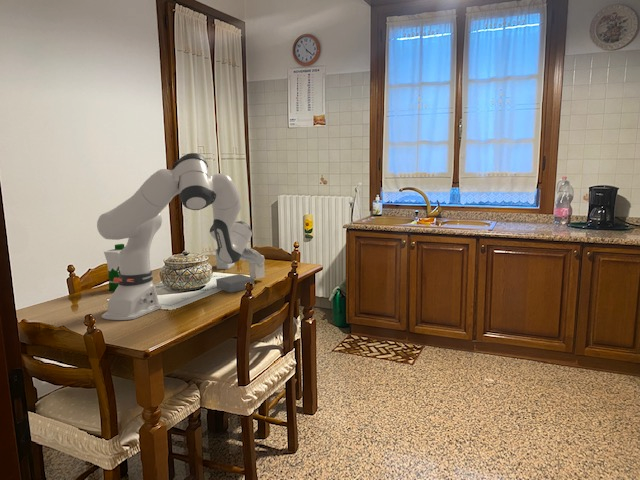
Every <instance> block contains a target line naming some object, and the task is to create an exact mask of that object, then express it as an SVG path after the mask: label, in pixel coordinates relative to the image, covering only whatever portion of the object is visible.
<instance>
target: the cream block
mask: <svg viewBox="0 0 640 480" xmlns="http://www.w3.org/2000/svg"><path fill="white" fill-rule="evenodd" d="M261 255H262V254H261ZM262 256H263V257H264V258H265V255H262ZM248 264H249V265H248V266H249V268H248V269H249V277H251V278H254V280H257V279H261V278H266V273H265V272H266V270H265V261H264V262H263V263H262V264H263V267H262V268H261V267H259V266H258V265H257V264H254V263H250V262H249V263H248Z"/></svg>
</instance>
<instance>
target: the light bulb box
mask: <svg viewBox="0 0 640 480" xmlns="http://www.w3.org/2000/svg"><path fill="white" fill-rule="evenodd" d="M215 261H216V262H215V263H216V270H228V269H231V267H234V266H235V264H236V262H235V263H231V264H229V263H225V262H224V261H222V260H221V259H220V258H219V256H218V254H217V248H215Z"/></svg>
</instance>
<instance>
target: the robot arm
mask: <svg viewBox="0 0 640 480" xmlns="http://www.w3.org/2000/svg"><path fill="white" fill-rule="evenodd" d="M209 171H210V170H209V165H208V163H207V160H206V158H205V157H204V156H203V155H202V154H199V153H196V152H195V153H194V152H192V153H191V152H190V153H187V154H184V155H183V156H181V157H180V158H179V159H178V160H177V161H175V162H174V163H173V164H172V168H171V169H167V168H162V169H158V170H157V171H156V172H154V173H153V174H152V175H149V177H147V179H146V180H145V181H144V182H143V183H142V184H141V186H140V187H139V188H138V189H137V190H136V192H135V193H134V194H133V195H132V196H131V197H129V198H128V199H126V200H125V201H123V202H122V203H120V204H119V205H117V206H115V207H114V208H112V209H111V210H109V211H107V212H103V213H102V214H100V216H98V219H97V221H96V227H97V232H98V233H99V235H100V236H101V237H102V238H103V239H105V240H118V241H119V240H123V239H128V240H127V243H126V245H124V248H123V249H122V250H121V251H120V253H119V264H120V275H119V278H116V277H115V278H114V279H113V281H114V283H118V284H119V285H118V287H117V289H116V290H115V291H113V293H112V295H111V296H110V298H109V299H108V301H107V311H105V312H104V313H103V314H101V318H102V319H104V320H109V321H127V320H135V319H137V318H140V317H142V316H145V315H147V314H150V313H152V312H155V311H157V310H160V309H161V308H162V305H161V304H160V303H159V298H158V293H157V289H156V286H155V284H154V283H153V279H154V276H153V275H154V274H153V270H152V269H151V257H150V255H151V254H150V252H151V250H150V249H151V246H152V242H153V238H154V237H155V235H156V233H157V232H158V230H159V229H160V228H161V226H162V223H163V218H162V214H161V213H162V211H163V210H164V209H165V208H166V207H167V206H168V205H169V204H170V202H171V201H172V200H173V199H174V197H176V196H177V195H179V199H180V202H181V204H182V205H183V207H184V208H186V209H188V210H191V211H200V210H203V209H205V208H207V207H208V206H210V205H211V208H212V212H213V213H212V214H213V215H212V216H213V218H212V225H211V226H210V229H209V234H210V235H211V237H212V238H213V239H214V241H215V242H216V244H217V245H216V246H217V247H216V249H217V254H218V256H219V258H220V259H221V260H222V261H224V262H225V263H229V264H231V263H235V264H236V263H238V262H240V261H243V262H247V263H248V264H249V262H250V263H254V264H257V265H258V266H259V267H261V268H262V267H263V264H262V263H263V262H264V263H265V260H266V259H265V256H264V255H263V256H264V257H263V256H262V254H261V253H260V252H258V251H257V250H255V249H253V248H250V247H249V242H250V240H251V238H252V235H253V230H252V228H251V226H250V225H248V224H247V223H246V222H245V221H242V220H239V221H236V220H237V218H238V216H239V214H240V212H241V210H242V209H241V208H242V199H241V196H240V193H239V190H238V188H237V186H236V184H235V182H234V180H233V179H232V177H230V175H228V174H226V173H215V174H213V175H210V172H209Z"/></svg>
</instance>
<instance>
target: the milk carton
mask: <svg viewBox="0 0 640 480" xmlns="http://www.w3.org/2000/svg"><path fill="white" fill-rule="evenodd" d="M124 247H125V244H124V243H118V244H114V248H112V249H108V250H105V251H103V254H104V257H105V260H106V265H107V274H108V291H110V292H115V290H116V289H117V287H118V285H119V284H118V283H114V281H113V279H114V278H115V277H116V278H119V275H120V264H119V253H120V251H121V250H122V249H123V248H124Z"/></svg>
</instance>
